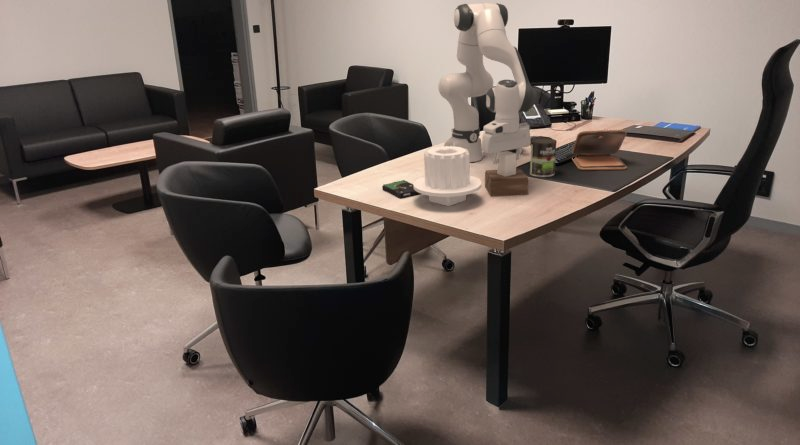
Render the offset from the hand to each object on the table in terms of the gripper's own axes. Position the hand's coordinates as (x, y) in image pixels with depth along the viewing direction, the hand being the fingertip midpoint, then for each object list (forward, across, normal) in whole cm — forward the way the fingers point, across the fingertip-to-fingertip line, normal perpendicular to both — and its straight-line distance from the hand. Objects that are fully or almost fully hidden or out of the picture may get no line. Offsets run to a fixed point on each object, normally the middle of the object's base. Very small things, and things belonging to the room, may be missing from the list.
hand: (506, 161), depth 238 cm
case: (+12, -55, -8) cm, 57 cm away
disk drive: (+12, +34, -22) cm, 42 cm away
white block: (+5, 0, 0) cm, 5 cm away
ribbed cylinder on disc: (+12, +25, -2) cm, 27 cm away
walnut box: (+12, 0, 0) cm, 12 cm away
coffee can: (+12, -26, -10) cm, 30 cm away
